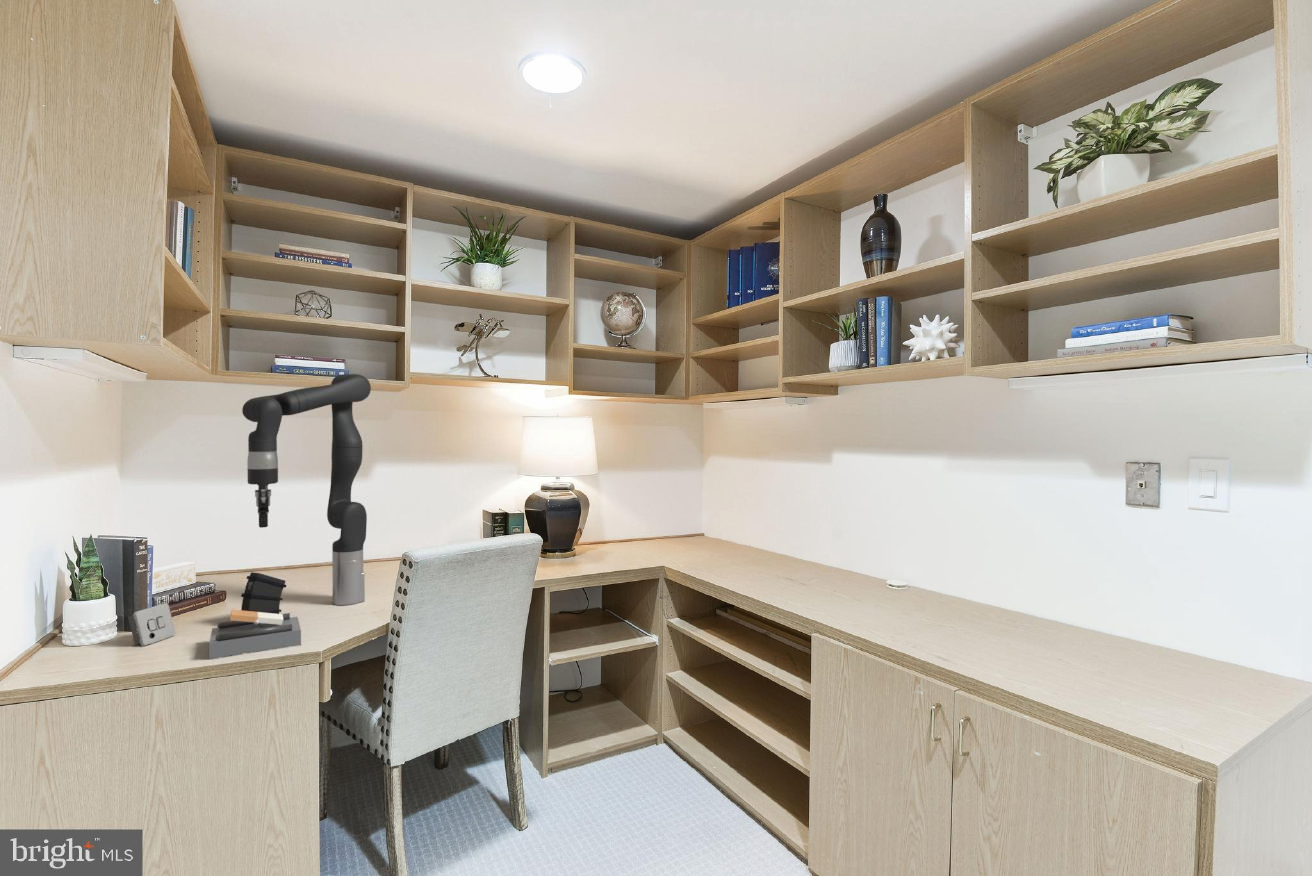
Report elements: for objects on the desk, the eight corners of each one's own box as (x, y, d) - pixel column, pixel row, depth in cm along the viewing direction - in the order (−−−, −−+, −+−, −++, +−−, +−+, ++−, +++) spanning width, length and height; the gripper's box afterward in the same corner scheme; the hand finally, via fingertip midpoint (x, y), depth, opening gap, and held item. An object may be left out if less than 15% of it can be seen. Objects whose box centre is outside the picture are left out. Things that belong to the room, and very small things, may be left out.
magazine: (228, 624, 182) (248, 571, 188) (265, 631, 194) (282, 581, 200) (239, 625, 181) (258, 572, 187) (275, 632, 193) (292, 582, 199)
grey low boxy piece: (297, 630, 182) (297, 611, 182) (301, 644, 170) (300, 624, 170) (212, 643, 171) (212, 622, 171) (209, 659, 159) (209, 637, 159)
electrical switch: (143, 647, 168) (140, 612, 168) (127, 647, 169) (124, 612, 169) (176, 636, 177) (173, 602, 177) (161, 636, 178) (158, 603, 178)
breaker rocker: (280, 621, 176) (282, 614, 176) (281, 627, 171) (283, 619, 171) (229, 616, 170) (232, 609, 170) (229, 622, 165) (231, 614, 165)
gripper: (278, 468, 181) (279, 529, 181) (277, 465, 192) (277, 523, 192) (247, 468, 177) (247, 531, 177) (247, 466, 188) (248, 525, 188)
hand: (263, 526), depth 185 cm, fingers closed
